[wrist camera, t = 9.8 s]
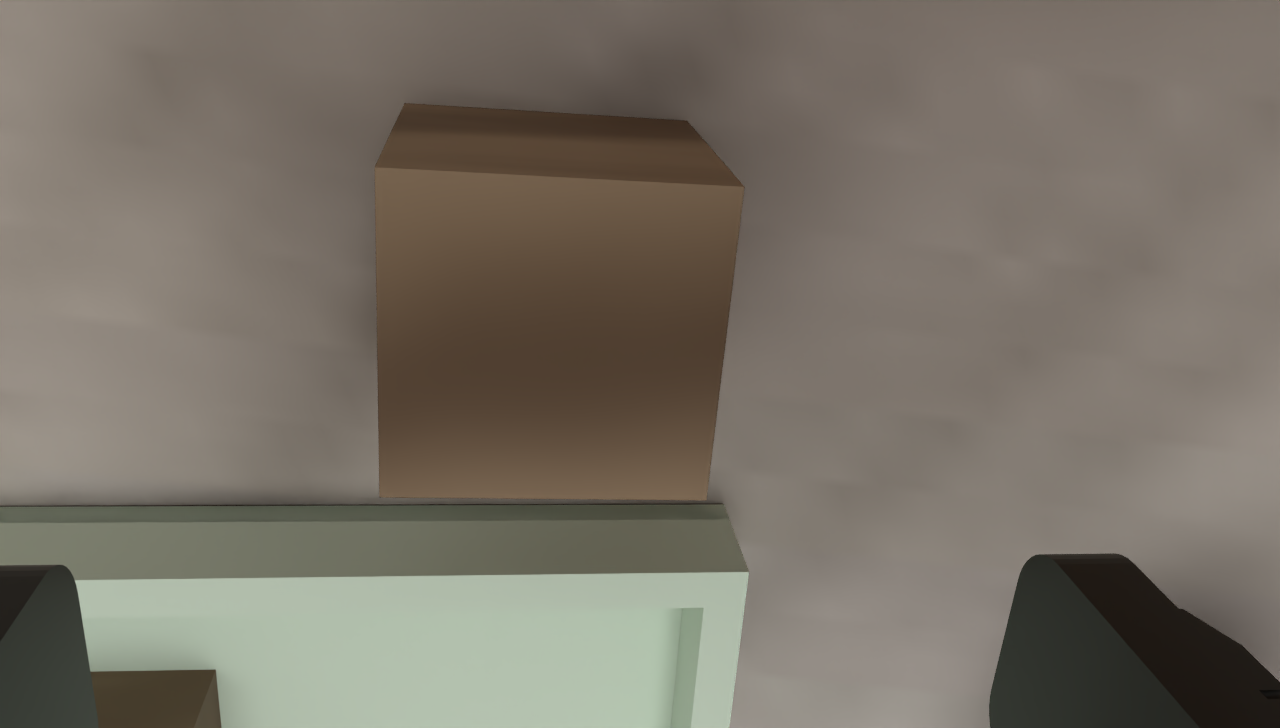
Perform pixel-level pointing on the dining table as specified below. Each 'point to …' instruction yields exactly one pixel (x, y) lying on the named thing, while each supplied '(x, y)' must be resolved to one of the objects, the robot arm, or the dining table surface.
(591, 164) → the block near
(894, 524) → the dining table surface
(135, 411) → the dining table surface
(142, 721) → the block far
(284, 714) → the tray
